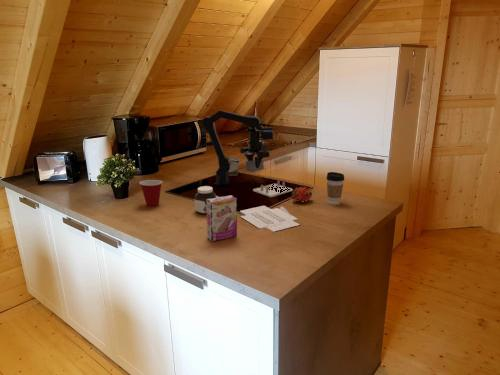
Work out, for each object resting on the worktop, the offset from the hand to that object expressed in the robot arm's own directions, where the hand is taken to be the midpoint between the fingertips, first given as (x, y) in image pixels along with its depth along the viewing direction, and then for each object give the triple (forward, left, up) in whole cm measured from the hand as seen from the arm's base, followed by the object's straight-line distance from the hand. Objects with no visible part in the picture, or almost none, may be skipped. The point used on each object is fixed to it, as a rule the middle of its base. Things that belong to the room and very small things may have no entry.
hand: (254, 167), depth 222 cm
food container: (+3, +27, -10) cm, 29 cm away
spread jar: (-43, -17, -10) cm, 47 cm away
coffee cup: (+9, -49, -10) cm, 51 cm away
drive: (0, 0, -1) cm, 1 cm away
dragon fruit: (-1, -37, -10) cm, 38 cm away
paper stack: (-28, -42, -11) cm, 52 cm away
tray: (0, -15, -10) cm, 18 cm away
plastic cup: (-59, +8, -10) cm, 61 cm away
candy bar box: (-56, -45, -10) cm, 73 cm away
